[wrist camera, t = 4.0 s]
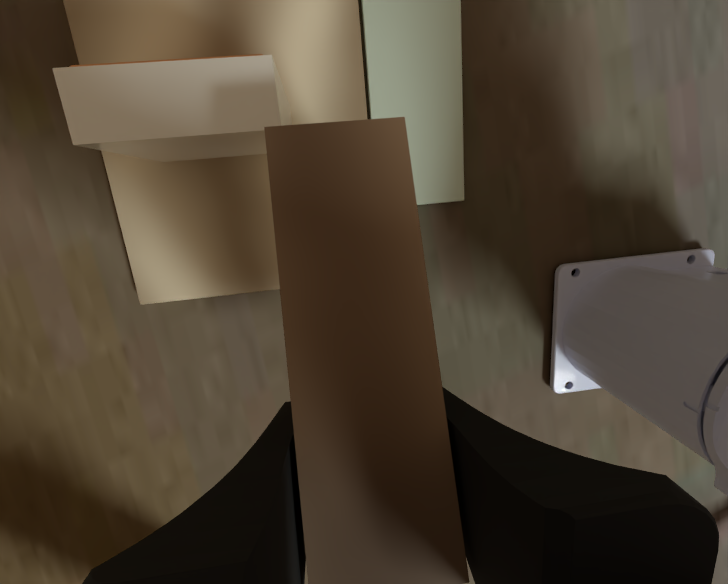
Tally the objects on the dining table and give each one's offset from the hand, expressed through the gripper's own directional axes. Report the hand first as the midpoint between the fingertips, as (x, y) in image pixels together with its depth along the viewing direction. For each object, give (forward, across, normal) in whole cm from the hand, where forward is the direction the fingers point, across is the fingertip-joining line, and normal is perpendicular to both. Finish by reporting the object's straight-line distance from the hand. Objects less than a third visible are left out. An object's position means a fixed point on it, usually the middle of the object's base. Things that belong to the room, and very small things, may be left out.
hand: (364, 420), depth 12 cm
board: (+9, +4, -11) cm, 15 cm away
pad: (+9, -4, -13) cm, 17 cm away
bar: (+3, 0, -1) cm, 4 cm away
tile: (+9, +4, -10) cm, 14 cm away
